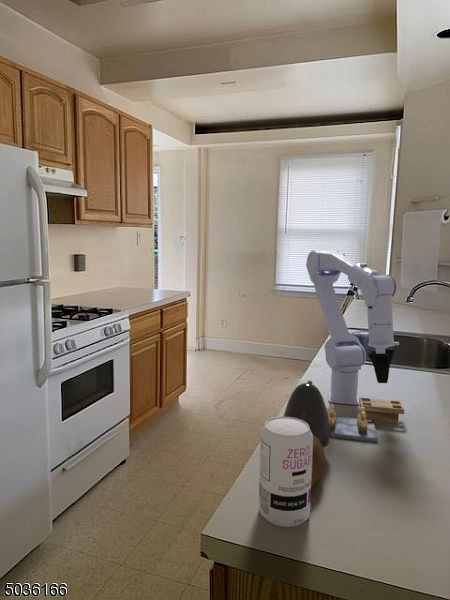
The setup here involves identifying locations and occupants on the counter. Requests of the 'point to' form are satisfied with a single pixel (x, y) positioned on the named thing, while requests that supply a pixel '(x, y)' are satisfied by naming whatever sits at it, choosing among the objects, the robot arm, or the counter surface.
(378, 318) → the robot arm
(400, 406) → the wooden frame
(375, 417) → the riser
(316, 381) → the counter surface
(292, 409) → the dark grey tall dome
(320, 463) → the potato
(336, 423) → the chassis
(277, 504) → the supplement can
